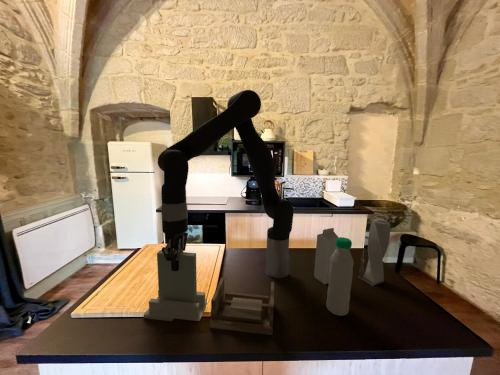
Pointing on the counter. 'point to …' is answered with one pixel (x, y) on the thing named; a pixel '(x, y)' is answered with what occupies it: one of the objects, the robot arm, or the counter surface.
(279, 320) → the counter surface
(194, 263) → the sage panel
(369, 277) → the skyscraper
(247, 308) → the pine offcut
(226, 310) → the walnut offcut
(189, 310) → the grey stand
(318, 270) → the milk
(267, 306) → the oak rack
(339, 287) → the water bottle
